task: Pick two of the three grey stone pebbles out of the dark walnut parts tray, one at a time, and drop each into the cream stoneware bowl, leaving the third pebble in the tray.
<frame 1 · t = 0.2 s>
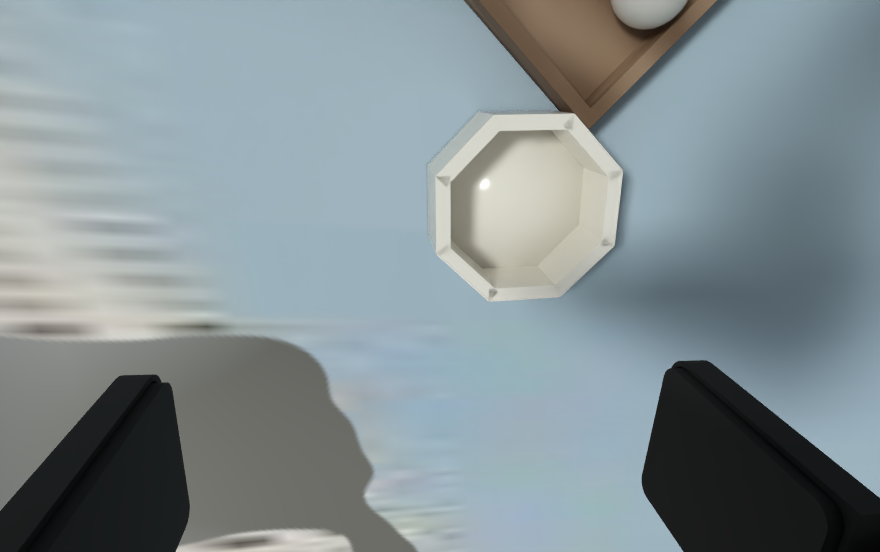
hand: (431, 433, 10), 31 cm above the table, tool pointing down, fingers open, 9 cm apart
bowl: (510, 198, 40), on the table
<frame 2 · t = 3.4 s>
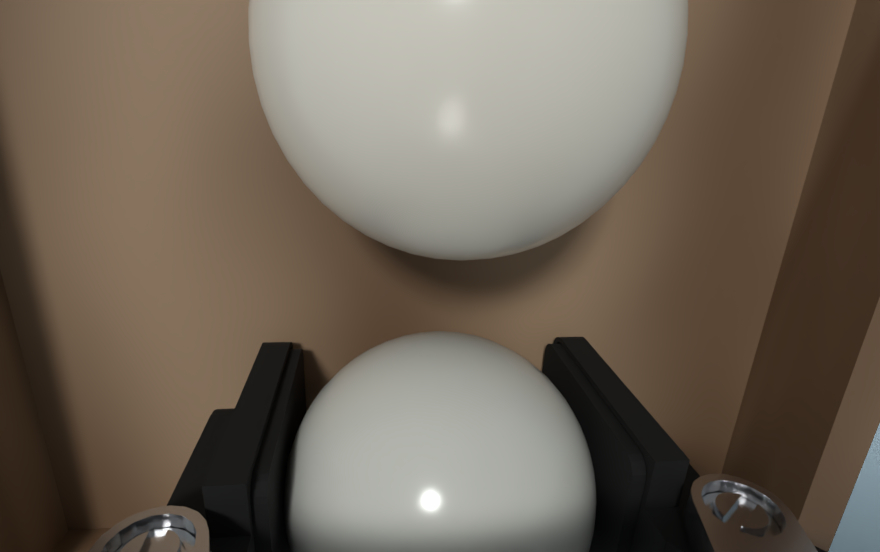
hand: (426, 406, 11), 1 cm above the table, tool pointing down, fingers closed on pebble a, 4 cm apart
tray: (432, 68, 9), on the table
pebble a: (424, 396, 11), point 1 cm above the table, touching gripper, tray
pebble b: (438, 66, 9), point 1 cm above the table, touching tray
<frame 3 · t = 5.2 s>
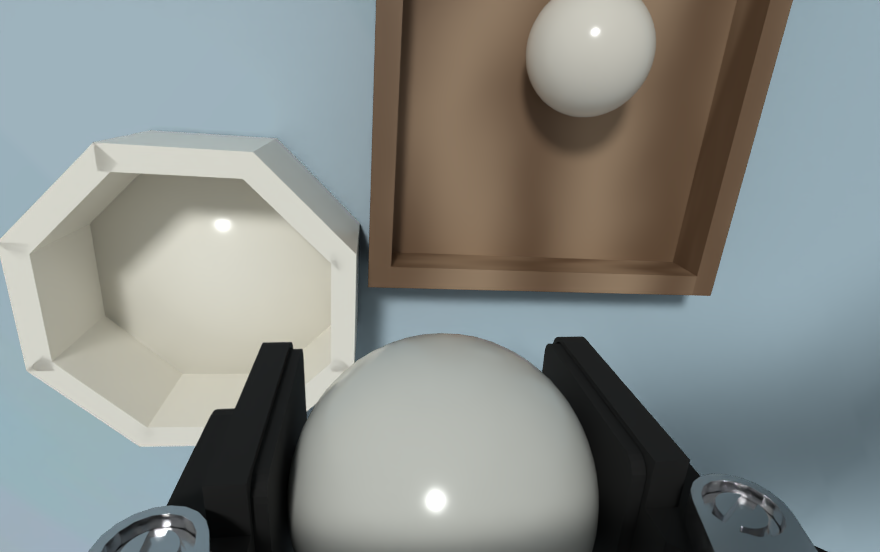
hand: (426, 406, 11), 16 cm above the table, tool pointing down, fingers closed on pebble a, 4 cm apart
bowl: (224, 270, 25), on the table
tray: (560, 56, 24), on the table
pebble a: (427, 398, 11), point 16 cm above the table, touching gripper
pebble b: (566, 55, 23), point 1 cm above the table, touching tray
when the fingers open (6 cm above the table, at t = 7.1 s): pebble a drops 5 cm, resting on bowl.
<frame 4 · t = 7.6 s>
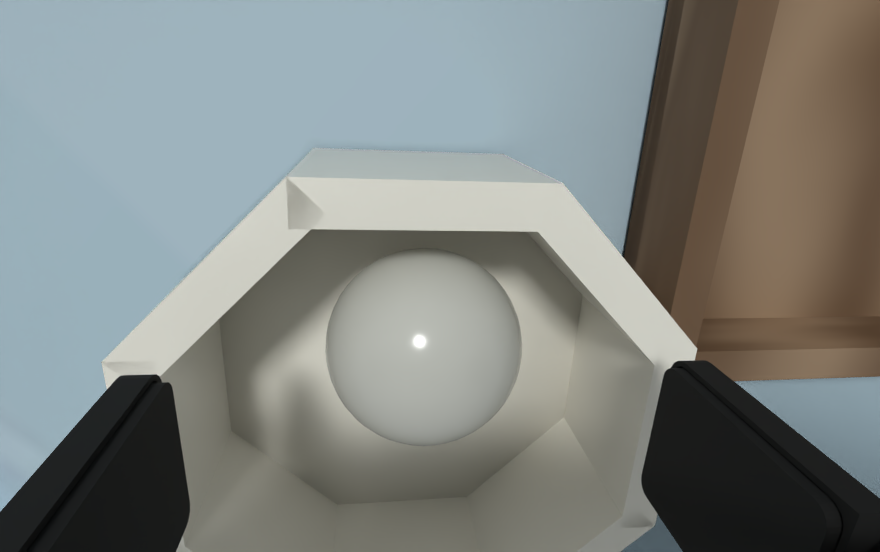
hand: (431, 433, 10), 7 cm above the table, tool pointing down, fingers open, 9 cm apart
bowl: (405, 354, 17), on the table
pebble a: (406, 305, 15), point 1 cm above the table, tilted 6°, touching bowl
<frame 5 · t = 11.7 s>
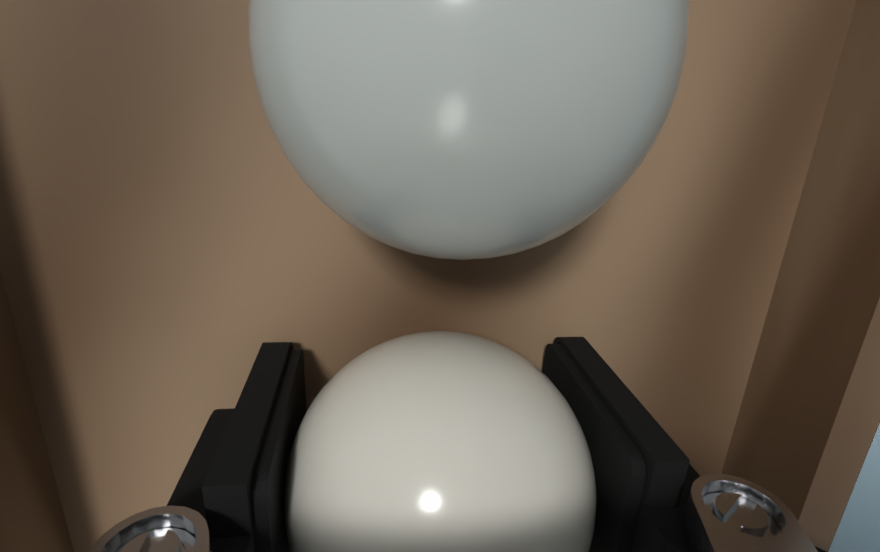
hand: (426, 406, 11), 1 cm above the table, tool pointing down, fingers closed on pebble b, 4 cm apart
tray: (421, 376, 12), on the table
pebble c: (438, 66, 9), point 1 cm above the table, touching tray
pebble b: (424, 396, 11), point 1 cm above the table, touching gripper, tray
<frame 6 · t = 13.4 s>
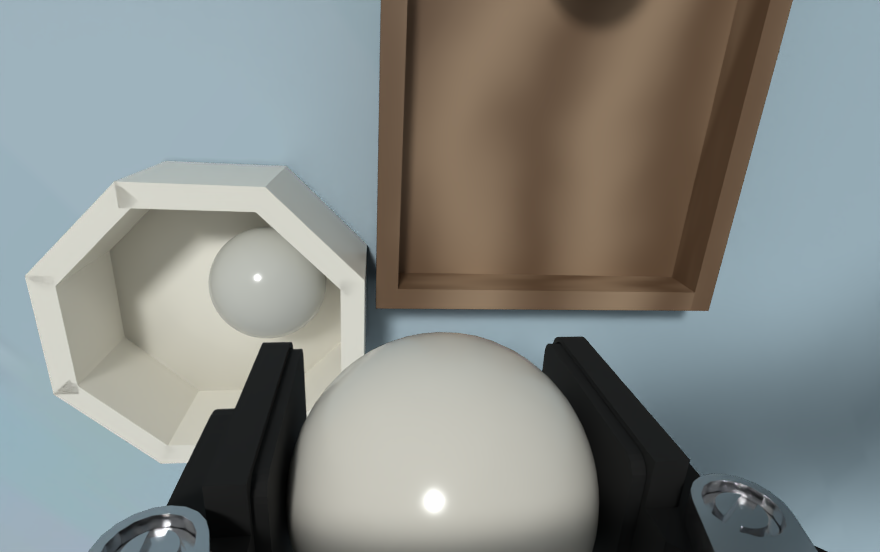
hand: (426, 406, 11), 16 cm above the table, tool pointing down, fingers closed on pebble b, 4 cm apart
bowl: (238, 291, 26), on the table
tray: (559, 82, 24), on the table
pebble a: (232, 267, 24), point 2 cm above the table, tilted 52°, touching bowl
pebble b: (426, 397, 11), point 16 cm above the table, touching gripper
when the fingers open (6 cm above the table, at t = 15.4 s): pebble b drops 3 cm and tips over, resting on bowl.
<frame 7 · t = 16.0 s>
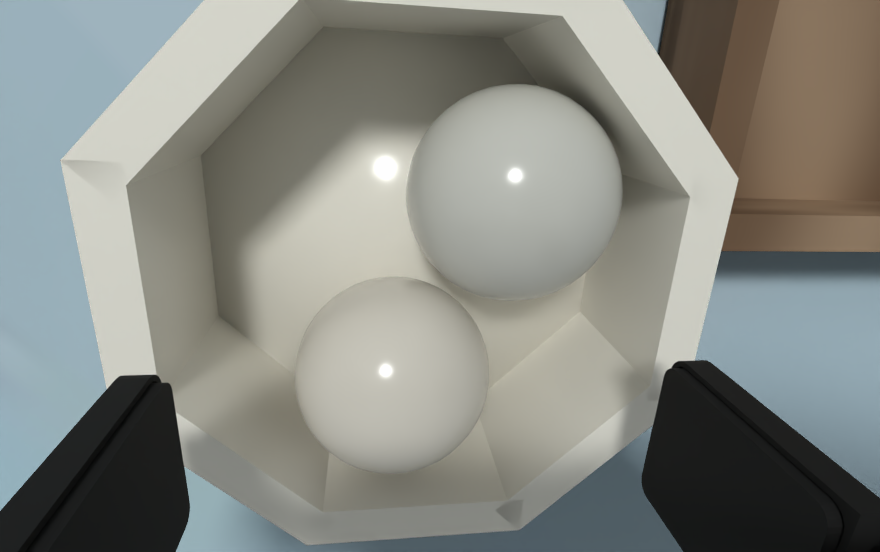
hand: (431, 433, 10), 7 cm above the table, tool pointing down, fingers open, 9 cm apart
bowl: (408, 236, 15), on the table
pebble a: (423, 179, 13), point 2 cm above the table, tilted 51°, touching bowl
pebble b: (428, 282, 13), point 2 cm above the table, tilted 74°, touching bowl
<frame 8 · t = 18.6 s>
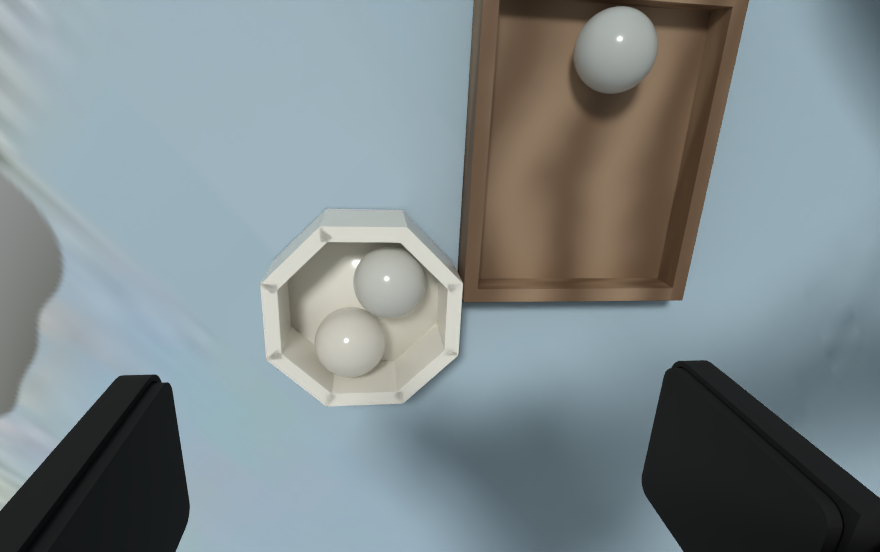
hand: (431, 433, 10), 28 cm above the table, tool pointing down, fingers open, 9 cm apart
bowl: (365, 293, 39), on the table
tray: (580, 151, 37), on the table
pebble c: (598, 53, 34), point 1 cm above the table, touching tray
pebble a: (366, 273, 37), point 1 cm above the table, tilted 40°, touching bowl
pebble b: (365, 310, 37), point 2 cm above the table, tilted 71°, touching bowl
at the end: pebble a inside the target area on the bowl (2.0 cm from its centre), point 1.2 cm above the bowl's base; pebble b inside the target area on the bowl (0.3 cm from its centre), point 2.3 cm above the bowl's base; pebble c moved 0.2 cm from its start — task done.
